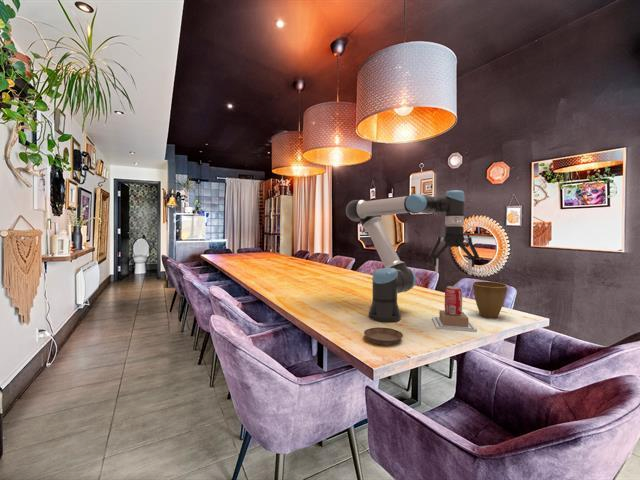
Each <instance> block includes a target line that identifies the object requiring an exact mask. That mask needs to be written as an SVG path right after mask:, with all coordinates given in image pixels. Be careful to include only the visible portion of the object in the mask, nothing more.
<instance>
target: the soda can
mask: <svg viewBox="0 0 640 480" xmlns="http://www.w3.org/2000/svg"><path fill="white" fill-rule="evenodd" d="M461 288H462V287H460V286H458V285H457V286H455V285H447V286H446V289H445V291H444V311H445V312H446V313H447V314H449V315H453V316H458V315H460V314H461V313H462V312H463V311H462V310H463V291H462V289H461Z"/></svg>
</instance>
